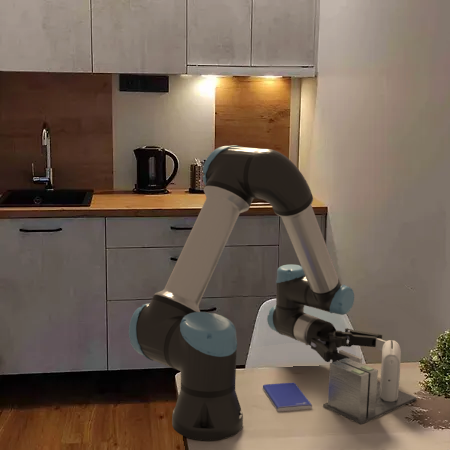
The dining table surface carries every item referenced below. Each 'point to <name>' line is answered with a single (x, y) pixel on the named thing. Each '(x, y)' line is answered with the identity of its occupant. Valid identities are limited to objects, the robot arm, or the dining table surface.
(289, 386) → the hard drive
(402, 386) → the dining table surface
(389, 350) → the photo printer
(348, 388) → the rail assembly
